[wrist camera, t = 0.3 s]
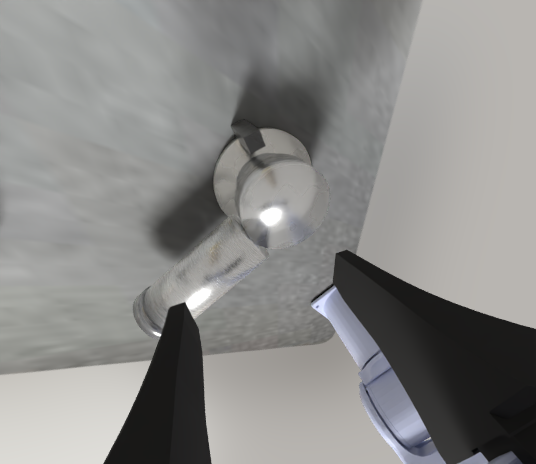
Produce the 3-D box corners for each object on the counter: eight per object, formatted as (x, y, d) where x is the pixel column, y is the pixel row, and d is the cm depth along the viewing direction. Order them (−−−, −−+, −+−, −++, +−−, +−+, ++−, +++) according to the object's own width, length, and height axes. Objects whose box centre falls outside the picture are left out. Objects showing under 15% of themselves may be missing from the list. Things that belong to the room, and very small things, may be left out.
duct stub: (323, 181, 20) (346, 198, 18) (256, 238, 22) (268, 263, 19) (267, 90, 15) (288, 95, 12) (181, 173, 16) (183, 195, 13)
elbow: (283, 130, 14) (314, 148, 11) (324, 192, 18) (355, 218, 15) (123, 278, 16) (112, 327, 13) (189, 306, 20) (192, 349, 17)
